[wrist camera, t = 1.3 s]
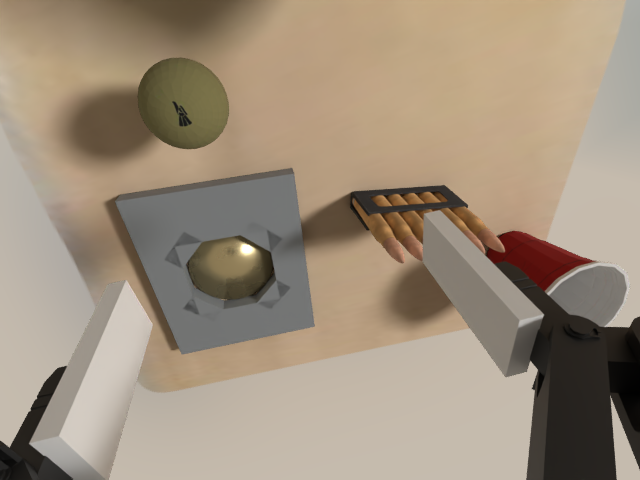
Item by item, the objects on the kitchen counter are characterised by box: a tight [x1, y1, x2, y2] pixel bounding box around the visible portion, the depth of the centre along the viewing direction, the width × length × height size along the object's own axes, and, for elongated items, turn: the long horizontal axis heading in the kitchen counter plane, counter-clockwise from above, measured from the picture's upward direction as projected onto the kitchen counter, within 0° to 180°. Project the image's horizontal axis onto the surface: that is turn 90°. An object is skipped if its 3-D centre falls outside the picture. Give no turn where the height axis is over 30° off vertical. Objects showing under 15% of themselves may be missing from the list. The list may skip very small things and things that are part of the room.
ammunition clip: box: [350, 185, 505, 263], centre depth 33 cm, size 11×2×12 cm, turn 89°
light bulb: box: [138, 58, 229, 149], centre depth 25 cm, size 6×6×10 cm
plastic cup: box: [487, 231, 630, 327], centre depth 40 cm, size 11×11×12 cm
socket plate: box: [115, 168, 315, 354], centre depth 38 cm, size 20×16×2 cm
